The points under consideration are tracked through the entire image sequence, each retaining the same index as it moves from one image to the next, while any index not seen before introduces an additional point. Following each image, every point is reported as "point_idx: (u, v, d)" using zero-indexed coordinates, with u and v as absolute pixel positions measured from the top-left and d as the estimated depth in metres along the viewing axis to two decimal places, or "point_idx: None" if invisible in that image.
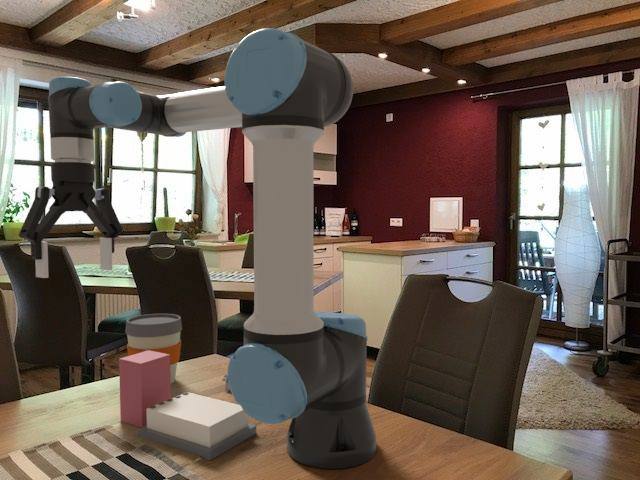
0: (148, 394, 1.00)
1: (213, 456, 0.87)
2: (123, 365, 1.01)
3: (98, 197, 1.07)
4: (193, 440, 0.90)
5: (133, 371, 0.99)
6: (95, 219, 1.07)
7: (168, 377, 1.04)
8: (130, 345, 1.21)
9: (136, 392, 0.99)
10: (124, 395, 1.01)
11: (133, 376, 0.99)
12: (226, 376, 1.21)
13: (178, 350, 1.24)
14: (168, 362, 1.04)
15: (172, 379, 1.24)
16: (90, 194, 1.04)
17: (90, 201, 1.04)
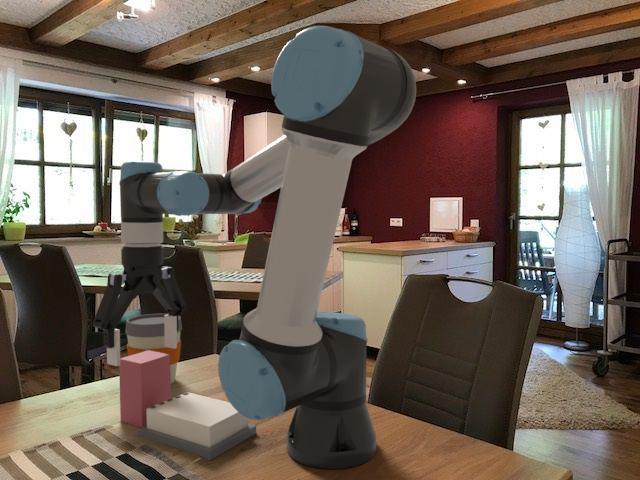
0: (148, 394, 1.00)
1: (213, 456, 0.87)
2: (123, 365, 1.01)
3: (164, 276, 1.06)
4: (193, 440, 0.90)
5: (133, 371, 0.99)
6: (161, 299, 1.06)
7: (168, 377, 1.04)
8: (130, 345, 1.21)
9: (136, 392, 0.99)
10: (124, 395, 1.01)
11: (133, 376, 0.99)
12: None
13: (178, 350, 1.24)
14: (168, 362, 1.04)
15: (172, 379, 1.24)
16: (158, 275, 1.03)
17: (158, 283, 1.03)
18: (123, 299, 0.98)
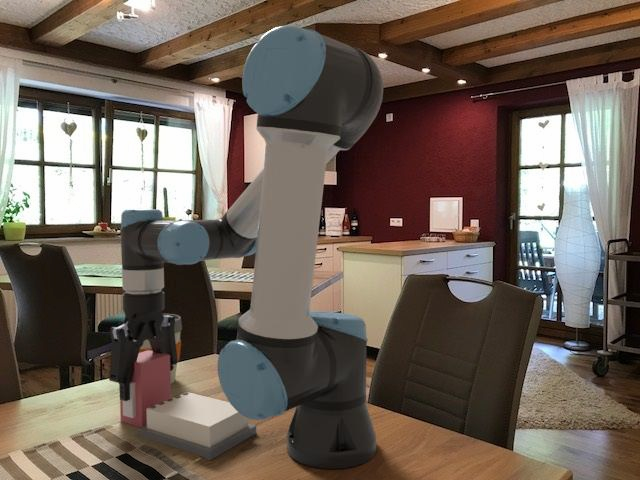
0: (148, 394, 1.00)
1: (213, 456, 0.87)
2: None
3: (164, 324, 1.06)
4: (193, 440, 0.90)
5: None
6: (156, 348, 1.05)
7: (168, 377, 1.04)
8: None
9: (136, 392, 0.99)
10: None
11: (133, 376, 0.99)
12: None
13: (178, 350, 1.24)
14: (168, 362, 1.04)
15: (172, 379, 1.24)
16: (159, 319, 1.04)
17: (158, 330, 1.03)
18: (131, 350, 0.99)
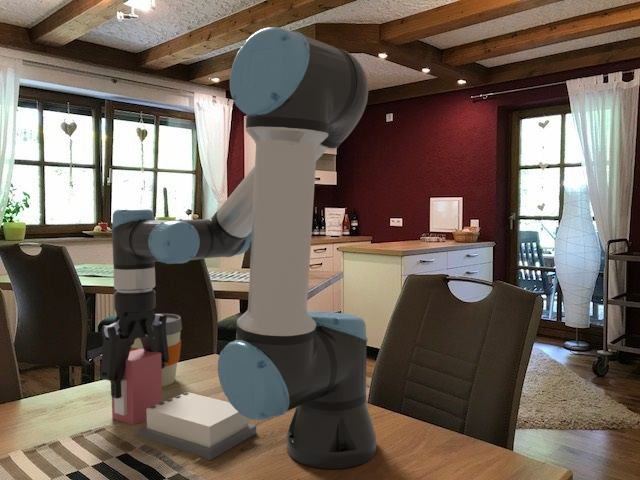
0: (139, 391, 1.01)
1: (213, 456, 0.87)
2: None
3: (156, 322, 1.07)
4: (193, 440, 0.90)
5: None
6: (147, 347, 1.06)
7: (159, 375, 1.05)
8: None
9: (127, 389, 1.00)
10: None
11: (125, 374, 1.00)
12: None
13: (178, 350, 1.24)
14: (159, 360, 1.05)
15: (172, 379, 1.24)
16: (150, 318, 1.05)
17: (149, 328, 1.04)
18: (122, 348, 1.00)
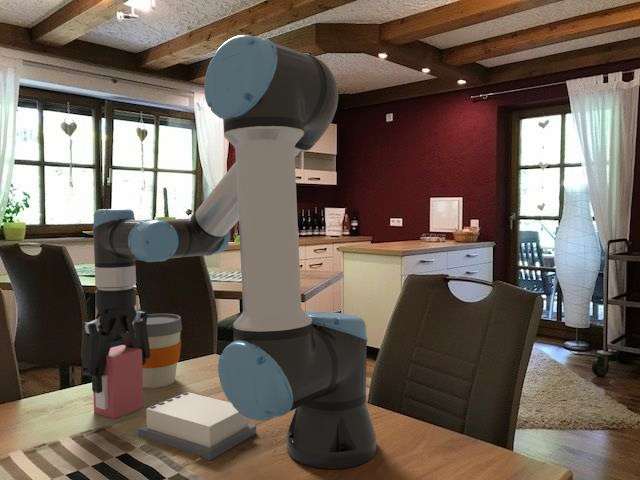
0: (120, 386, 1.04)
1: (213, 456, 0.87)
2: None
3: (137, 319, 1.10)
4: (193, 440, 0.90)
5: None
6: (129, 343, 1.09)
7: (140, 370, 1.08)
8: None
9: (108, 384, 1.03)
10: None
11: (105, 369, 1.03)
12: None
13: (178, 350, 1.24)
14: (140, 356, 1.08)
15: (172, 379, 1.24)
16: (131, 315, 1.08)
17: (130, 325, 1.07)
18: (103, 344, 1.03)
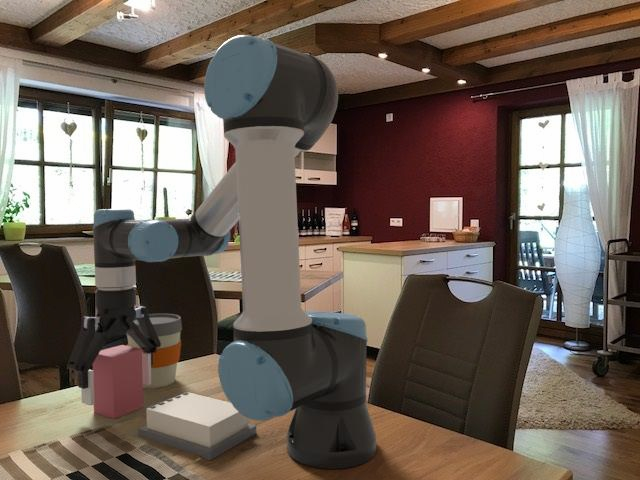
0: (120, 386, 1.04)
1: (213, 456, 0.87)
2: (96, 359, 1.05)
3: (138, 316, 1.10)
4: (193, 440, 0.90)
5: (105, 364, 1.03)
6: (135, 337, 1.10)
7: (140, 370, 1.08)
8: (130, 345, 1.21)
9: (108, 384, 1.03)
10: (97, 388, 1.05)
11: (105, 369, 1.03)
12: None
13: (178, 350, 1.24)
14: (139, 356, 1.08)
15: (172, 379, 1.24)
16: (131, 315, 1.08)
17: (132, 323, 1.07)
18: (97, 341, 1.02)
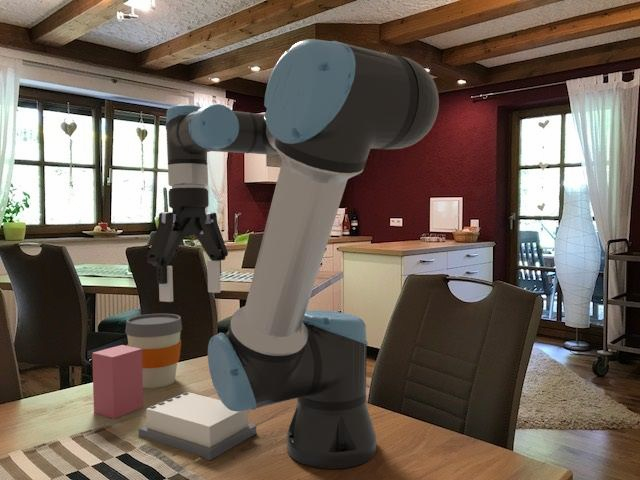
0: (120, 386, 1.04)
1: (213, 456, 0.87)
2: (96, 359, 1.05)
3: (208, 221, 1.09)
4: (193, 440, 0.90)
5: (105, 364, 1.03)
6: (205, 243, 1.09)
7: (140, 370, 1.08)
8: (130, 345, 1.21)
9: (108, 384, 1.03)
10: (97, 388, 1.05)
11: (105, 369, 1.03)
12: None
13: (178, 350, 1.24)
14: (139, 356, 1.08)
15: (172, 379, 1.24)
16: (203, 218, 1.07)
17: (204, 225, 1.06)
18: (173, 238, 1.00)
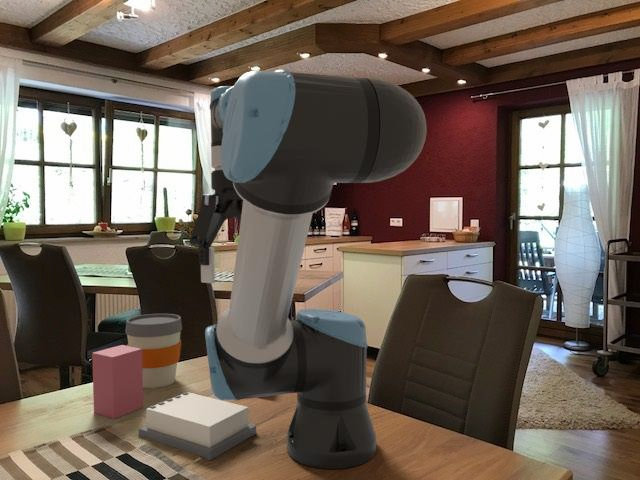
0: (120, 386, 1.04)
1: (213, 456, 0.87)
2: (96, 359, 1.05)
3: None
4: (193, 440, 0.90)
5: (105, 364, 1.03)
6: None
7: (140, 370, 1.08)
8: (130, 345, 1.21)
9: (108, 384, 1.03)
10: (97, 388, 1.05)
11: (105, 369, 1.03)
12: None
13: (178, 350, 1.24)
14: (139, 356, 1.08)
15: (172, 379, 1.24)
16: None
17: None
18: (216, 220, 1.01)
